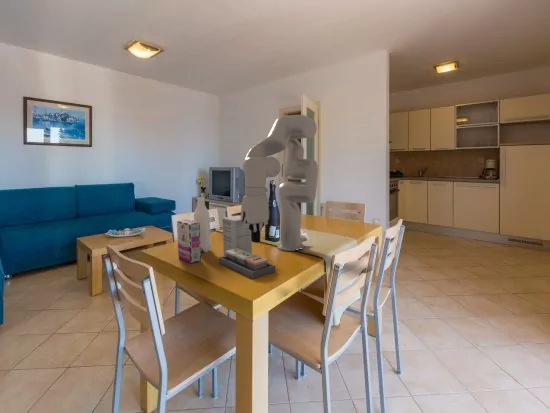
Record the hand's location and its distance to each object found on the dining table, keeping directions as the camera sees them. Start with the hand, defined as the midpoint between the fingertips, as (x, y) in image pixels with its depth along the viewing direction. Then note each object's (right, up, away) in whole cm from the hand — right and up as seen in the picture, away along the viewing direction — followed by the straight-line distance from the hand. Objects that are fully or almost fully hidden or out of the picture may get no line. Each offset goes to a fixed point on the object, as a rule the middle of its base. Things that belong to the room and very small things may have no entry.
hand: (255, 241), depth 111 cm
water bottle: (-26, -8, +29) cm, 40 cm away
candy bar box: (-29, -10, +17) cm, 35 cm away
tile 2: (-4, -9, +7) cm, 12 cm away
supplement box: (-10, -9, +24) cm, 27 cm away
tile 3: (0, -9, +2) cm, 9 cm away
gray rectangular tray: (-4, -11, +7) cm, 14 cm away
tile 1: (-9, -8, +12) cm, 17 cm away
